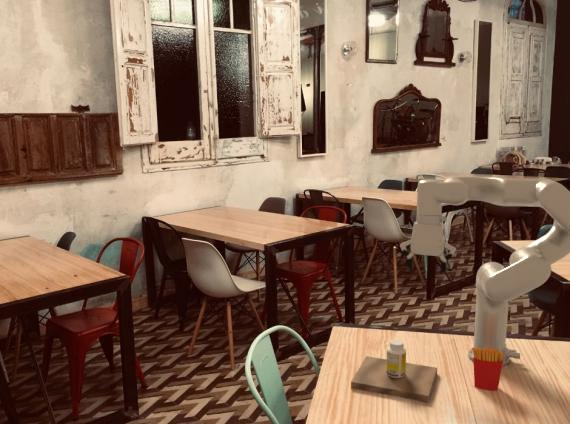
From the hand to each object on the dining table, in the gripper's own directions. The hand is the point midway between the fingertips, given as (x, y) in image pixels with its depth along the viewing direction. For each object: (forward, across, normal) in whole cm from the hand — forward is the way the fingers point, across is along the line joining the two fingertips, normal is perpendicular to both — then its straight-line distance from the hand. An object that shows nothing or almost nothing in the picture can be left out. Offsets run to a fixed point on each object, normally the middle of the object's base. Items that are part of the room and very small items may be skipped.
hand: (426, 271), depth 177 cm
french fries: (+28, -20, +15) cm, 38 cm away
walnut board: (+28, +5, +21) cm, 36 cm away
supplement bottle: (+26, +5, +21) cm, 34 cm away
